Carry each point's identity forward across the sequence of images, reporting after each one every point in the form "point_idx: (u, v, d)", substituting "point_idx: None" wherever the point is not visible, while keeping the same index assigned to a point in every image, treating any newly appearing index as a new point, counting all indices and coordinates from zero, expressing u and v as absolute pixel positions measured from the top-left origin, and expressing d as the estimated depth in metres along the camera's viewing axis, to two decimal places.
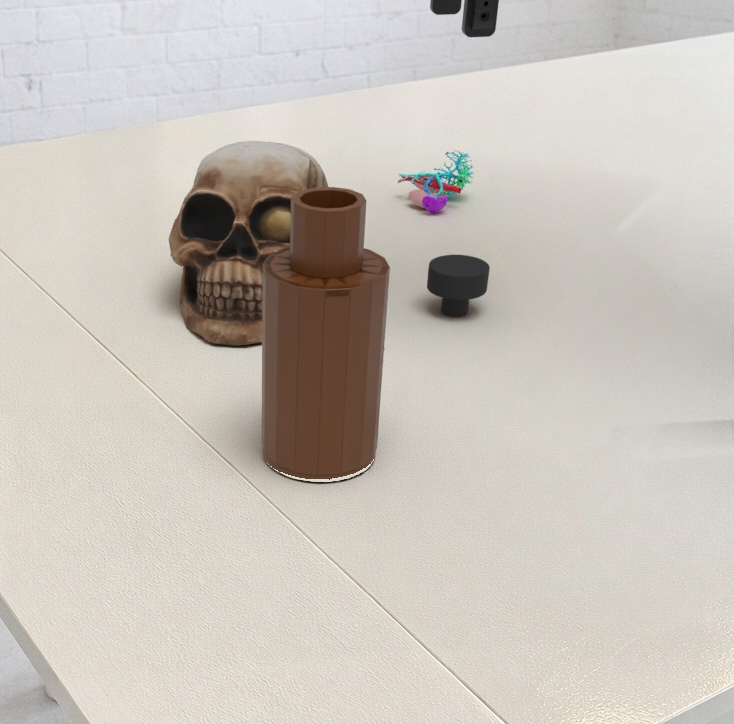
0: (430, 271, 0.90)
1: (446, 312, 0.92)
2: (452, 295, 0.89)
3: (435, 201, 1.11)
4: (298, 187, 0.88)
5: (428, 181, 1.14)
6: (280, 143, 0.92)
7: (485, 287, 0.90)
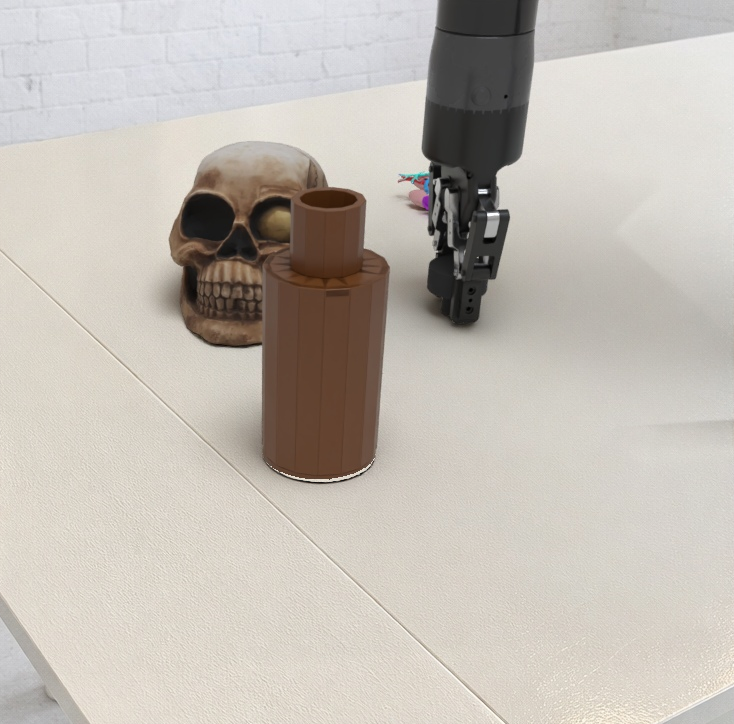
0: (430, 271, 0.90)
1: (446, 312, 0.92)
2: None
3: None
4: (298, 187, 0.88)
5: (428, 181, 1.14)
6: (280, 143, 0.92)
7: (485, 287, 0.90)
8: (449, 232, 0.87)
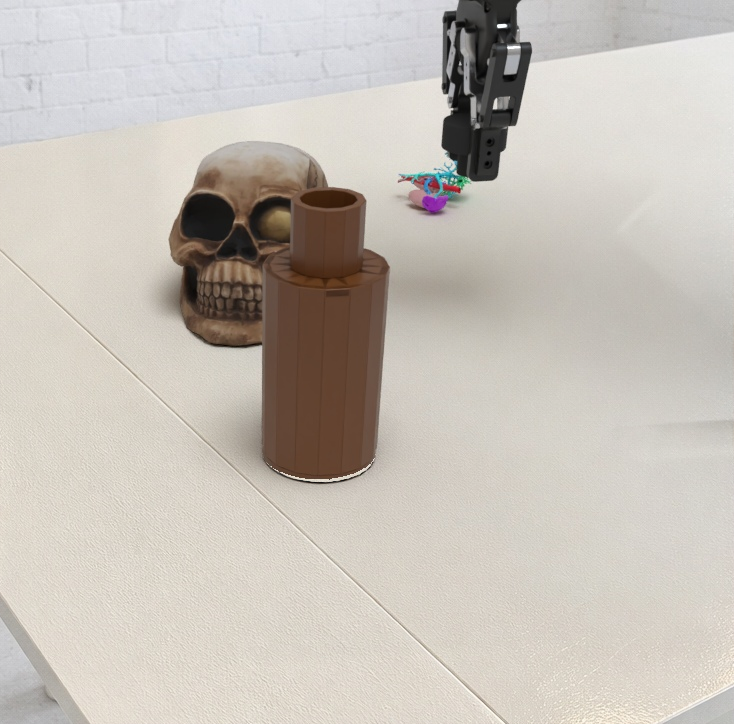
0: (445, 126, 0.84)
1: (462, 173, 0.85)
2: None
3: (435, 201, 1.11)
4: (298, 187, 0.88)
5: (428, 181, 1.14)
6: (280, 143, 0.92)
7: (504, 143, 0.84)
8: (465, 78, 0.80)
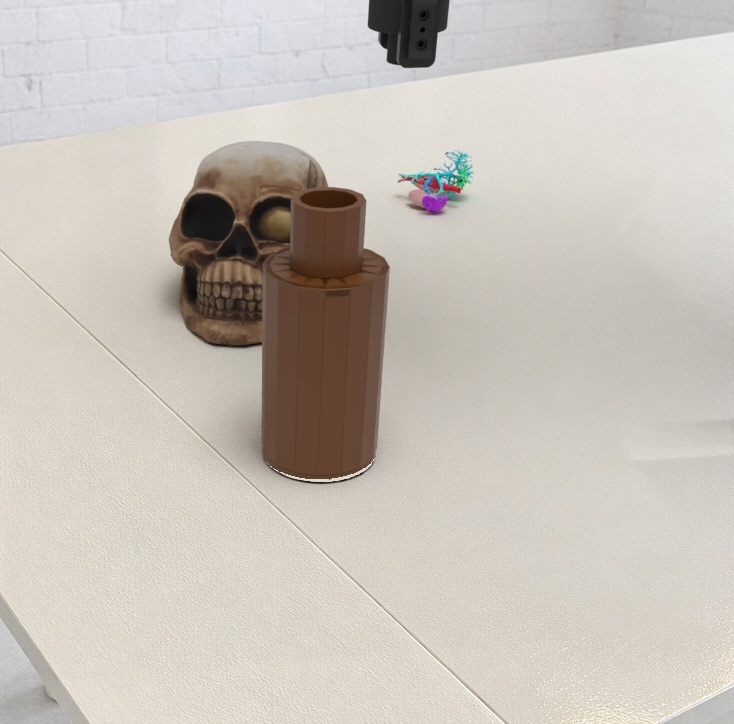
0: None
1: (393, 60, 0.69)
2: None
3: (435, 201, 1.11)
4: (298, 187, 0.88)
5: (428, 181, 1.14)
6: (280, 143, 0.92)
7: (444, 20, 0.67)
8: None
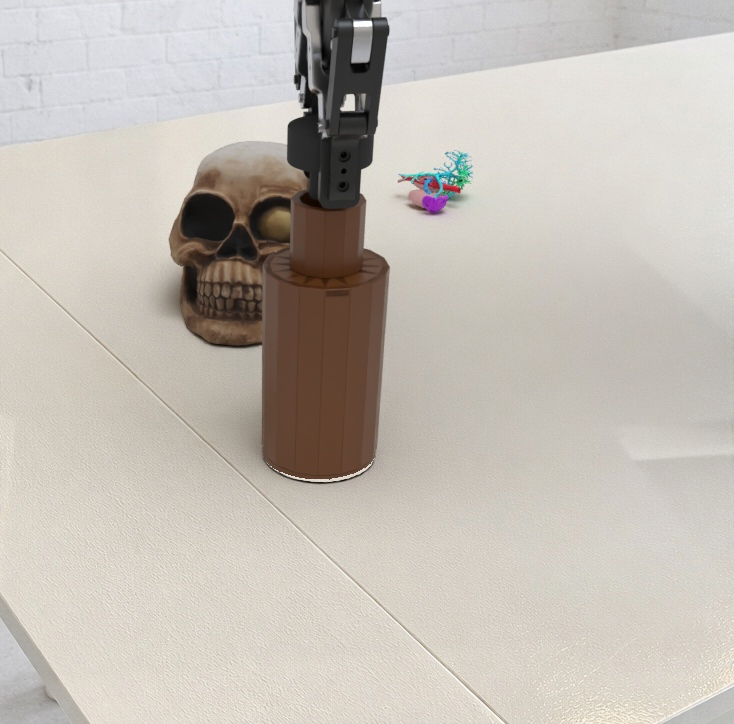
0: (288, 133, 0.62)
1: (315, 196, 0.64)
2: None
3: (435, 201, 1.11)
4: (298, 187, 0.88)
5: (428, 181, 1.14)
6: (280, 143, 0.92)
7: (368, 156, 0.62)
8: (309, 67, 0.58)
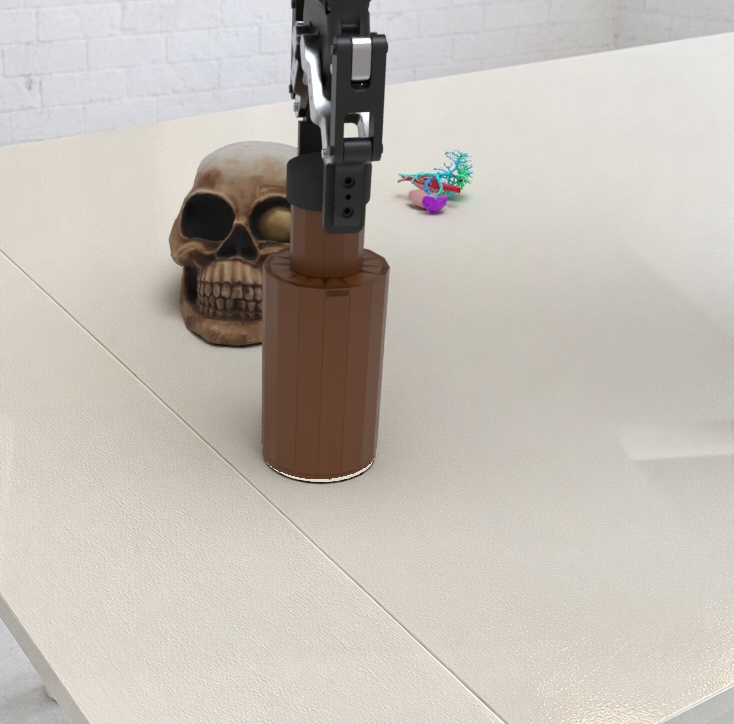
0: (288, 172, 0.63)
1: None
2: (317, 205, 0.62)
3: (435, 201, 1.11)
4: None
5: (428, 181, 1.14)
6: (280, 143, 0.92)
7: (366, 195, 0.63)
8: (310, 99, 0.59)
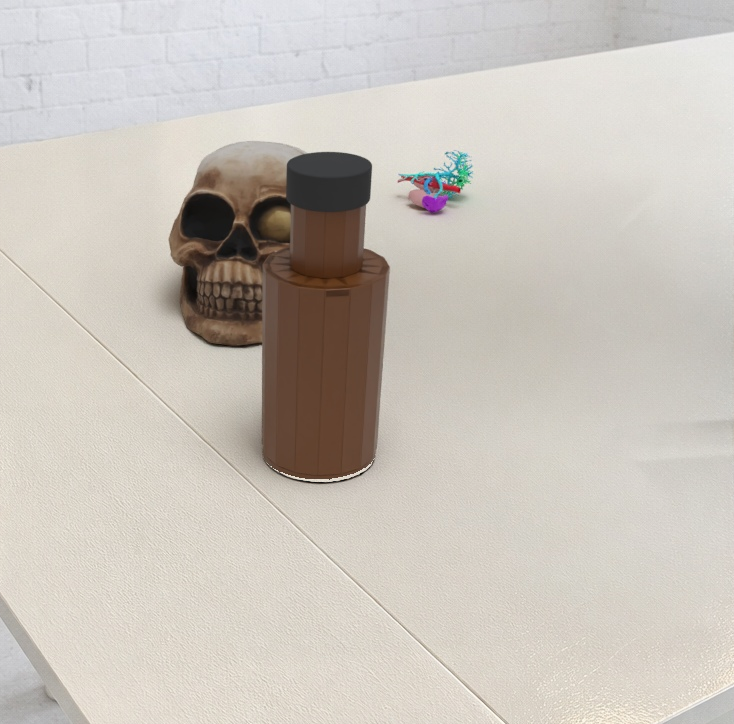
0: (288, 172, 0.63)
1: None
2: (317, 205, 0.62)
3: (435, 201, 1.11)
4: None
5: (428, 181, 1.14)
6: (280, 143, 0.92)
7: (366, 195, 0.63)
8: None
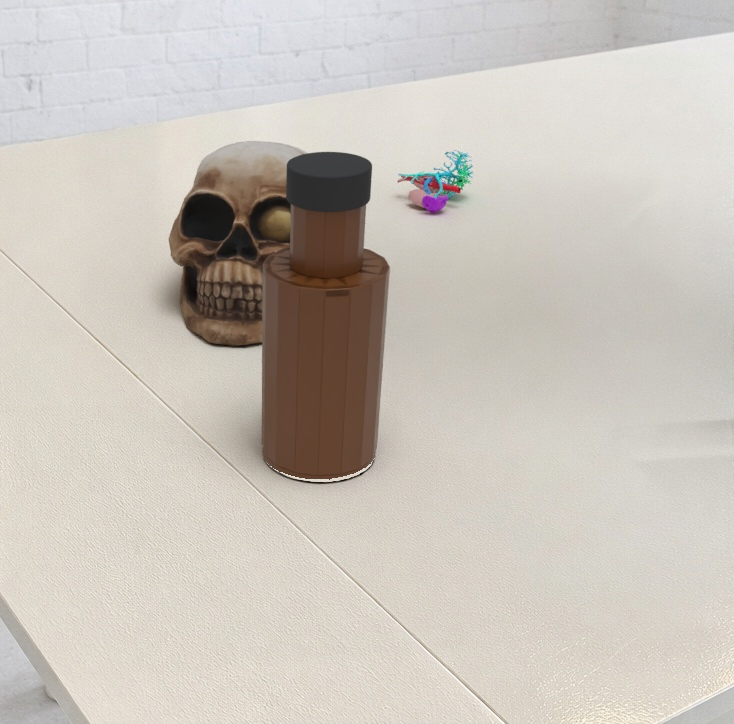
0: (288, 172, 0.63)
1: None
2: (317, 205, 0.62)
3: (435, 201, 1.11)
4: None
5: (428, 181, 1.14)
6: (280, 143, 0.92)
7: (366, 195, 0.63)
8: None
